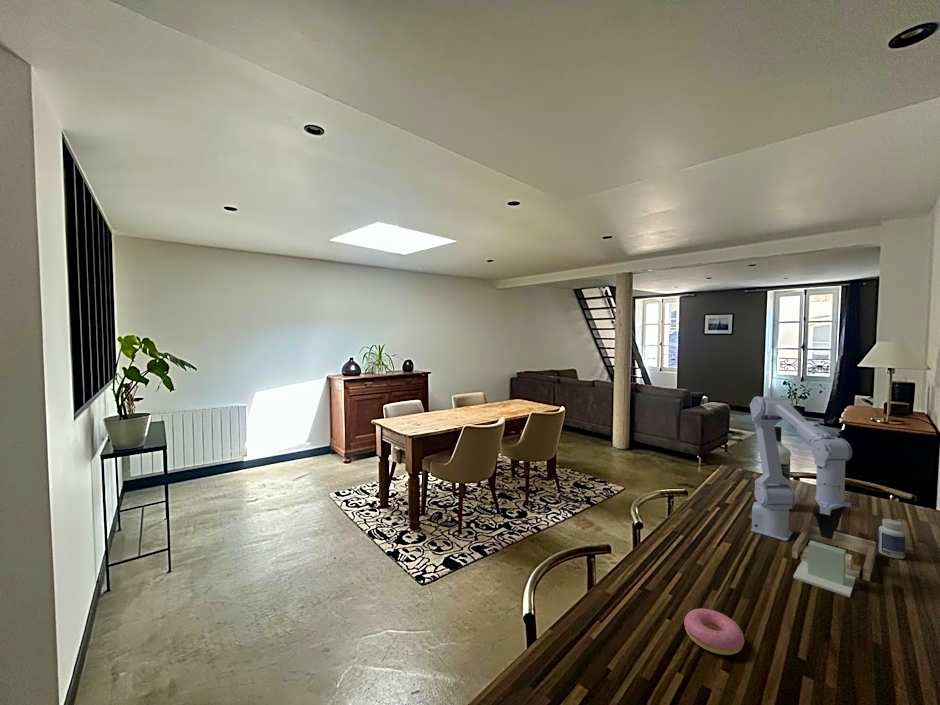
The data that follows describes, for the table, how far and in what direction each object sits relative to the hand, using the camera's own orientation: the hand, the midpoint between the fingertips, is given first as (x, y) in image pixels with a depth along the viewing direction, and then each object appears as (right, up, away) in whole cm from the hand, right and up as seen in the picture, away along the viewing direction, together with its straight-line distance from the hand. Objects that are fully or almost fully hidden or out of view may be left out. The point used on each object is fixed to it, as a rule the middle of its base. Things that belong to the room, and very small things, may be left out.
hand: (829, 533), depth 111 cm
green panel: (-4, -10, -4) cm, 11 cm away
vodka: (+18, -9, +43) cm, 48 cm away
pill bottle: (+25, -10, +8) cm, 29 cm away
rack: (+8, -10, +7) cm, 15 cm away
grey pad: (-4, -10, -3) cm, 12 cm away
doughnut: (-46, -12, -25) cm, 53 cm away
